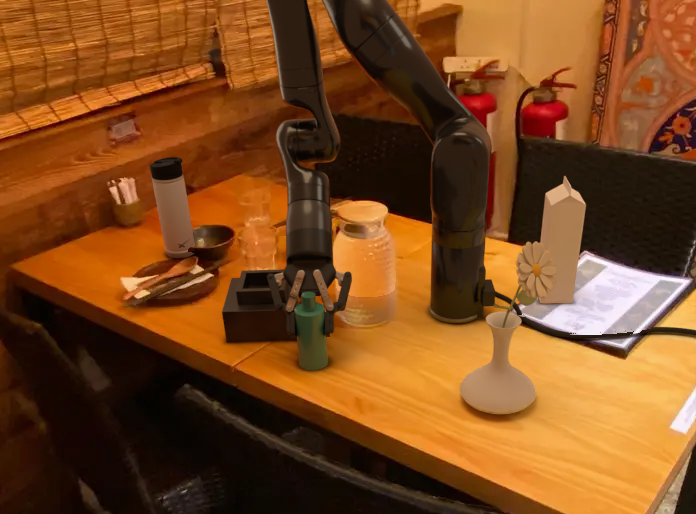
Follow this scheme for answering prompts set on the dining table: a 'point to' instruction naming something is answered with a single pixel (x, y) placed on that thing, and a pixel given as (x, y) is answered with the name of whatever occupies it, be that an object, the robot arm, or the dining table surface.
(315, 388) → the dining table surface
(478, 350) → the dining table surface
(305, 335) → the sauce bottle
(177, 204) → the travel mug
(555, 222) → the milk
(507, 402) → the flower in vase
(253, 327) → the condiment stand
